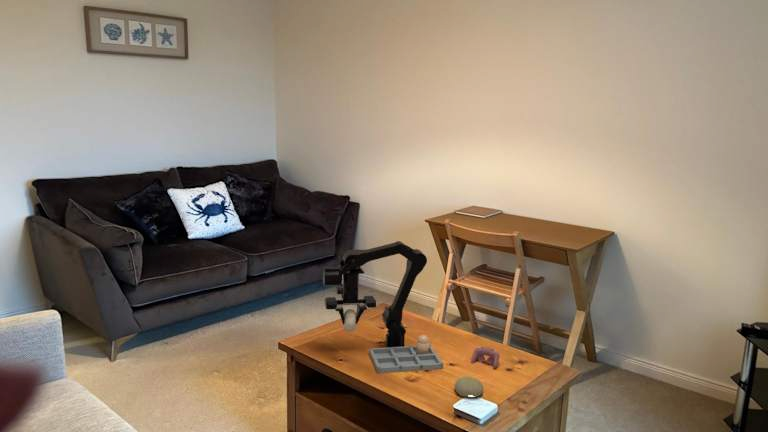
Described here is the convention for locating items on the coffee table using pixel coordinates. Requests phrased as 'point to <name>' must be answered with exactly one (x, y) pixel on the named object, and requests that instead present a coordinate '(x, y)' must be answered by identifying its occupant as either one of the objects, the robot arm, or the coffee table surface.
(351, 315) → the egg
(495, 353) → the video game controller
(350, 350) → the coffee table surface
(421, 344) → the beige rounded cylinder
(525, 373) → the coffee table surface
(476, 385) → the sea urchin shell
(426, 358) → the grey compartment tray
